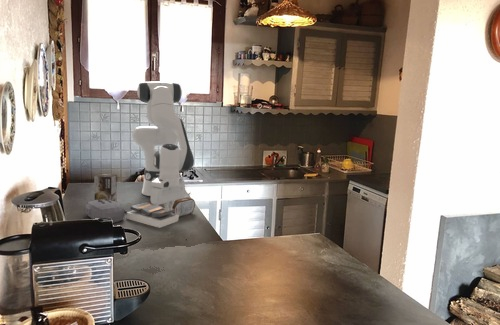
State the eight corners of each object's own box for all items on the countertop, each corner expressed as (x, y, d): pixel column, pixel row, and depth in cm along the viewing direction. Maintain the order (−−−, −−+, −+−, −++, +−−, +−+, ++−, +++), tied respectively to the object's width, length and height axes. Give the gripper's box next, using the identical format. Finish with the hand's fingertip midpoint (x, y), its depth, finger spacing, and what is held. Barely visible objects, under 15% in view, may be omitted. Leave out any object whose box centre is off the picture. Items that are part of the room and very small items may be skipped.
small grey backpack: (80, 215, 190) (99, 227, 176) (80, 198, 188) (100, 208, 175) (110, 210, 201) (131, 221, 187) (111, 194, 199) (132, 203, 185)
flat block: (166, 211, 192) (166, 207, 192) (175, 211, 189) (174, 208, 189) (152, 216, 183) (151, 212, 183) (160, 216, 181) (160, 213, 181)
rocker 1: (145, 204, 198) (146, 201, 198) (153, 207, 196) (153, 204, 195) (130, 208, 189) (130, 205, 189) (138, 212, 187) (138, 209, 187)
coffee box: (116, 205, 209) (117, 174, 206) (111, 208, 202) (111, 177, 200) (99, 203, 209) (100, 173, 207) (93, 207, 203) (93, 175, 200)
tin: (191, 211, 207) (192, 195, 206) (195, 213, 206) (196, 196, 204) (169, 217, 195) (170, 200, 194) (174, 219, 193) (174, 202, 192)
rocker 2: (156, 206, 195) (156, 203, 194) (163, 210, 193) (164, 207, 192) (141, 211, 186) (141, 208, 186) (149, 215, 184) (149, 212, 184)
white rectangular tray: (134, 209, 204) (134, 203, 204) (178, 220, 191) (178, 214, 191) (113, 215, 193) (114, 208, 192) (159, 227, 180) (159, 220, 179)
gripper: (178, 177, 193) (177, 205, 195) (148, 183, 175) (147, 214, 177) (189, 178, 190) (188, 207, 192) (159, 185, 172) (158, 216, 174)
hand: (168, 211), depth 185 cm, fingers closed, pressing on flat block
